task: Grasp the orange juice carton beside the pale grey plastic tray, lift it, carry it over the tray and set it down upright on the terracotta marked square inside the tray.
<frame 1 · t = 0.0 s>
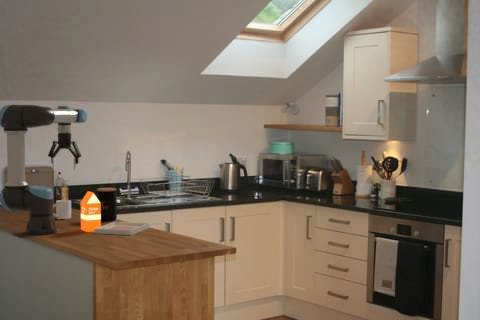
hand: (64, 169, 402), 28 cm above the countertop, fingers open, 13 cm apart
coffee jar: (107, 220, 392), on the countertop
mug: (60, 219, 398), on the countertop
tray: (122, 230, 360), on the countertop
orange juice: (90, 230, 360), on the countertop
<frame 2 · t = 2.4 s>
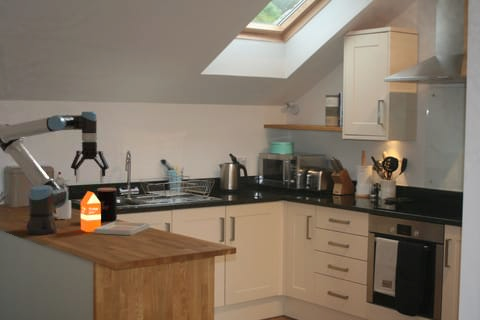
hand: (89, 182, 359), 25 cm above the countertop, fingers open, 13 cm apart
nothing on the countertop moved.
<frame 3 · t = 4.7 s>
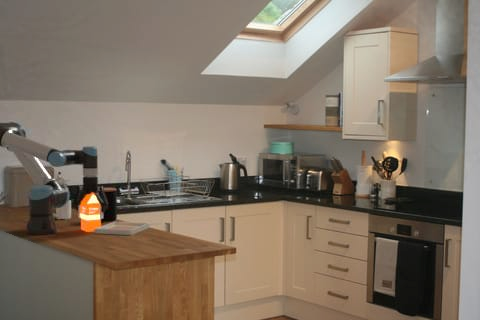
hand: (90, 218, 360), 6 cm above the countertop, fingers closed on orange juice, 11 cm apart
orange juice: (91, 230, 360), on the countertop, touching gripper
everything else where it was.
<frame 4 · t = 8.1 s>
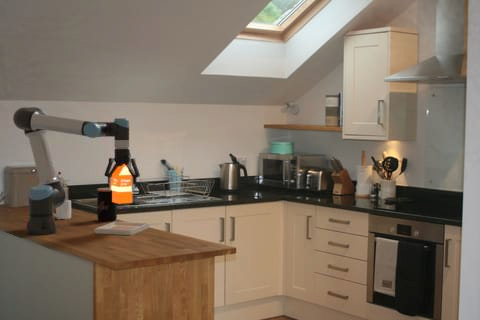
hand: (122, 190, 358), 21 cm above the countertop, fingers closed on orange juice, 11 cm apart
orange juice: (122, 202, 359), point 14 cm above the countertop, touching gripper
everything else where it was.
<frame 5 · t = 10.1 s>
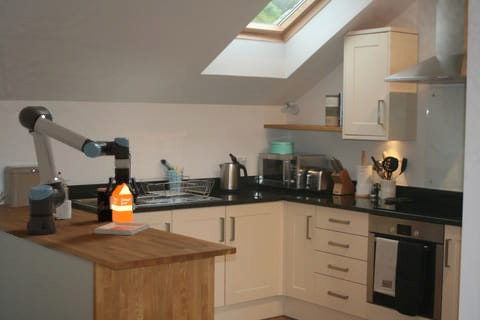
hand: (122, 209, 359), 11 cm above the countertop, fingers closed on orange juice, 11 cm apart
orange juice: (122, 221, 360), point 5 cm above the countertop, touching gripper
everything else where it was.
when the fingers open (8 cm above the countertop, at t = 11.6 s): orange juice stays where it is, resting on tray.
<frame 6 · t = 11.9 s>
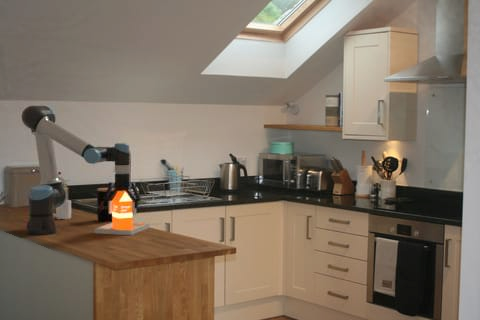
hand: (122, 214, 359), 8 cm above the countertop, fingers open, 13 cm apart
orange juice: (122, 228, 360), point 1 cm above the countertop, touching tray
everything else where it was.
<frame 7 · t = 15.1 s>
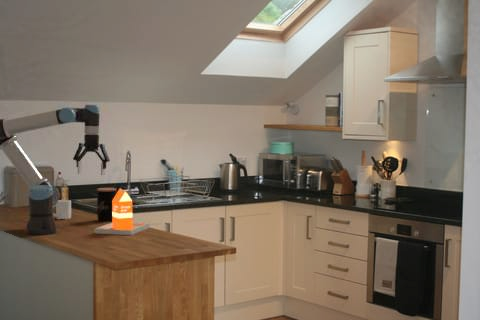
hand: (91, 174, 366), 28 cm above the countertop, fingers open, 13 cm apart
nothing on the countertop moved.
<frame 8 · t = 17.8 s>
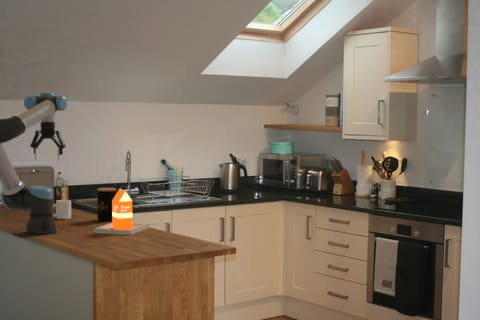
hand: (48, 160, 377), 35 cm above the countertop, fingers open, 13 cm apart
nothing on the countertop moved.
at the end: orange juice inside the target area on the tray (0.1 cm from its centre), point 0.8 cm above the tray's base; orange juice tilted 0°; the gripper is holding nothing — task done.
